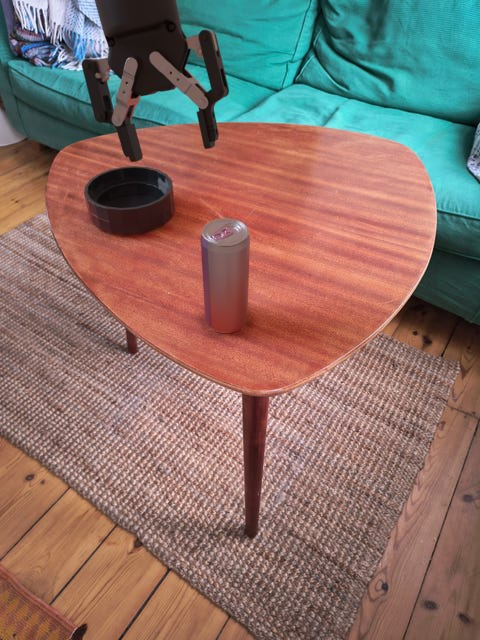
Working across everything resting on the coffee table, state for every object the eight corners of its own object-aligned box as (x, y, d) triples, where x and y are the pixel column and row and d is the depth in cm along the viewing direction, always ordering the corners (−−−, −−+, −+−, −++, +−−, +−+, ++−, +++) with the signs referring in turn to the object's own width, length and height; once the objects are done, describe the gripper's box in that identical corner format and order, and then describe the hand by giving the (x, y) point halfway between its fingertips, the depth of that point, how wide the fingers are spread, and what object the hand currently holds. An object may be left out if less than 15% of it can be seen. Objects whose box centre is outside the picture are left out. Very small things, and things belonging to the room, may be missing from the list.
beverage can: (196, 320, 66) (189, 231, 55) (225, 300, 69) (224, 211, 58) (226, 342, 63) (225, 251, 52) (256, 319, 66) (260, 230, 56)
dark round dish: (88, 241, 79) (80, 212, 75) (93, 195, 90) (87, 168, 86) (177, 233, 81) (175, 205, 77) (172, 190, 92) (170, 163, 88)
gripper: (41, -12, 42) (99, 171, 49) (189, -56, 38) (228, 148, 46) (81, -2, 48) (127, 159, 56) (211, -39, 45) (242, 138, 52)
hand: (173, 154), depth 51 cm, fingers open, 8 cm apart
